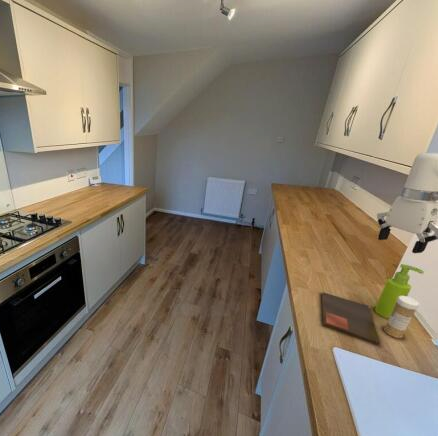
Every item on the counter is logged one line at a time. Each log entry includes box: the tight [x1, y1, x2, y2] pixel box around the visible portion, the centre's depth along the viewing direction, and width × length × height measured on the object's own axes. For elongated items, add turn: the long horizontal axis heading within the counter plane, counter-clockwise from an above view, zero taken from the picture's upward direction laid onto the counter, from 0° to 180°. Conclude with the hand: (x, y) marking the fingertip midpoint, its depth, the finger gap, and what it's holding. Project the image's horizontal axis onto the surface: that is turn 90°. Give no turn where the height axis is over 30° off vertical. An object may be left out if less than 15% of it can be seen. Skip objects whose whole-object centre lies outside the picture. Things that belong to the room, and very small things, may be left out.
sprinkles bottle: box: [383, 296, 420, 339], centre depth 75 cm, size 5×5×13 cm
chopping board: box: [321, 291, 380, 346], centre depth 84 cm, size 20×14×1 cm
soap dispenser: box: [374, 263, 425, 320], centre depth 82 cm, size 6×7×20 cm
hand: (398, 245), depth 78 cm, fingers open, 9 cm apart
